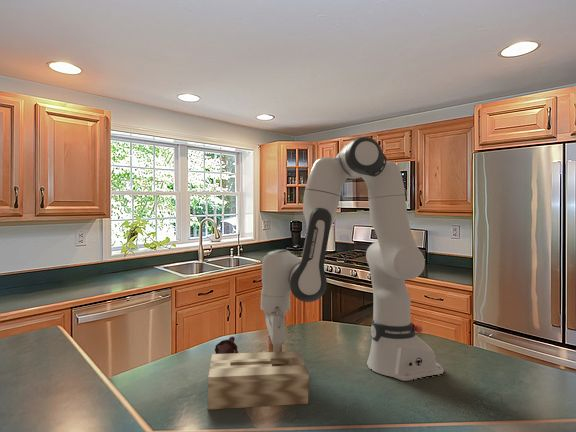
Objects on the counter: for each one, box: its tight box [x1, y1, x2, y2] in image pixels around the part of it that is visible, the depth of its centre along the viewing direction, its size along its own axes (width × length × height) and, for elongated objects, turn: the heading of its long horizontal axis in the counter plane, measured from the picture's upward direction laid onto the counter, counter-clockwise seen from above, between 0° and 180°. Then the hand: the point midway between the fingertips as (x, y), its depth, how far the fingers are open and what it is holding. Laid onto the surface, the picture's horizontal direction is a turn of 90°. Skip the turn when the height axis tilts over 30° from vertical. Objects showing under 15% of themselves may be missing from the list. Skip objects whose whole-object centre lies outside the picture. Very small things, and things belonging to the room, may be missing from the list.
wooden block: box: [266, 335, 283, 352], centre depth 104 cm, size 4×4×9 cm
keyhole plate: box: [206, 350, 310, 410], centre depth 89 cm, size 24×14×8 cm, turn 99°
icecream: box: [214, 336, 239, 354], centre depth 108 cm, size 7×7×15 cm
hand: (274, 349), depth 104 cm, fingers open, 8 cm apart
